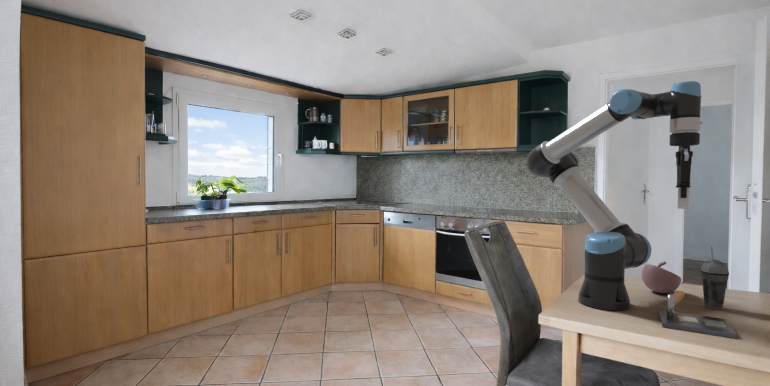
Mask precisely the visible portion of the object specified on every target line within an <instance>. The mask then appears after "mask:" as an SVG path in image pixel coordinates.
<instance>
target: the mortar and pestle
mask: <svg viewBox="0 0 770 386" xmlns="http://www.w3.org/2000/svg"><path fill="white" fill-rule="evenodd" d="M666 264H667V261H662V262H659V263H658V264H657V265H653V264H651V263H650V264H649V263H647V264H646V263H645V265H644V266H643V268H642V270H641V280H642V282H643V284H644V285H645V286H646V288H648V289H649V290H651V291H652V292H655V293H658V294H671V293H672V292H675V291H677V289H678V288H679V287H680V285H681V282H682V277H681V276H679V275H677V274H675V273H673V272H671V271H669V270H667V269H665V268H664V267H662V266H666Z"/></svg>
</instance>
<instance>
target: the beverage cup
mask: <svg viewBox="0 0 770 386" xmlns="http://www.w3.org/2000/svg"><path fill="white" fill-rule="evenodd" d="M709 249H710V257H711V259H709V260H706V261H704V263H703V264H702V265H701V268H700V271H699V272H700V275H701V278H702V293H703V304H704V308H706V309H709V310H714V311H722V310H723V308H724V303H725V297H726V291H727V290H726V289H727V284H728V283H727V282H728V279H729V276H730V271H729V268H728V267H727V265H726V264H725V263H724V262H723V261H721V260H717V259H714V253H713V246H712V245H710V246H709Z"/></svg>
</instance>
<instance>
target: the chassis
mask: <svg viewBox="0 0 770 386" xmlns="http://www.w3.org/2000/svg"><path fill="white" fill-rule="evenodd" d="M666 294H667V295H666V296H667V300H666V303H667V305H666V308H667V309H666V310H665V309H663V310H662V309H657V311H658V316H659V321H660V324H661V327H662V328H667V329H674V330H680V331H681V330H682V331H687V332H691V333H692V332H693V333H699V334H706V335H712V336H713V335H714V336H717V337H718V336H719V337H725V338H731V339H737V335H738V334H737V332H736V331H735V329H733V327H732V326H731V324H730V323H729V322H728V320H727V319H726V318H723V317H722V318H721V317H716V316H715V317H714V316H706V315H700V314H692V313H686V312H678V311H675V310H676V309H675V307H676V305H675V295H673V294H674V293H672V294H671V293H666Z"/></svg>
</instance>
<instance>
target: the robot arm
mask: <svg viewBox="0 0 770 386" xmlns="http://www.w3.org/2000/svg"><path fill="white" fill-rule="evenodd" d="M669 90H670V91H665V92H661V93H654V94H651V93H647V92H643V91H637V90H636V89H632V88H631V89H629V88H622V89H618V90H617V91H615V92H614V93H613V94H612V96H611V97H610V98H609V102H607V103H605V104H604V105H603V106H601V107H599V108H598V109H596V110H595V111H593V112H592V113H590V114H588V115H587V116H586V117H584V118H583V119H581V120H579V121H578V122H577V123H575V124H573V125H571V126H570V127H569V128H567V129H566V130H564V131H563V132H561V133H560V134H559V135H557V136H555V137H554V138H553V139H550V140H549V141H547V140H546V141H545V140H544V141H543V142H542V143H540V144H538V145H537V146H535V147H534V148H532V150H531V151H530V152H529V153H528V154H527V158H526V166H527V169H528V171H529V172H530V173H531V174H532V175H534V176H535V177H539V178H548V179H549V180H550V182H551V183H552V184H553V186H555V187H558V188H559V187H560V188H561V189H562V191H563V192H564V193H565V194H566V196H567V197H568V199H569V200H570V201H571V202H572V203H573V205H574V206H575V207H576V209H577V210H578V212H579V213H580V214H581V215H582V216H583V218H584V219H585V220H586V221H587V223H588V224H589V226H591V228H592V229H593V230H594V232H592V233H590V234H587V236H586V237H585V242H584V279H583V281H582V284H581V287H580V290H579V291H578V297H577V298H578V302H579V303H580V304H582V305H584V306H587V307H589V308H594V309H599V310H604V311H605V310H606V311H626V310H629V309H630V308H631V298H630V296H629V294H628V290H627V287H626V284H625V270H626V269H632V268H633V269H634V268H639V267H640V266H642V265H644V264H646V263H647V262H648V261H649V260H650V258H651V254H652V245H651V243H650V241H649V239H648V238H647V237H646V236H644V235H643V234H640V233H638V232H635V231H634V230H633V229H632V228H631V226H630V225H629V224H628V223H625V222H621V221H619V219H618V218H617V217H616V215H615V214H614V213H613V212H612V211H611V210H610V209H609V207H608V206H607V205H606V203H605V202H604V201H603V200H602V199H601V197H600V196H599V195H598V194H597V193H596V191H595V190H594V189H593V188H592V187H591V186H590V184H589V183H588V182H587V180H586V179H585V178H584V177H583V176H582V174H581V171H582V169H581V167H580V166H579V163H580V161H579V158H578V156H577V155H576V154H575V153H574V152H575V150H577V149H579V148H580V147H582V146H583V145H585V144H587V143H588V142H590V141H592V140H594V139H595V138H597V137H599V136H600V135H601V134H604V133H605V132H607V131H608V130H610V129H612V128H613V127H615V126H616V125H619V124H621V123H622V122H624V121H625V120H627V119H628V118H631V119H632V120H646V119H652V118H653V119H654V118H660V117H668V116H669V117H670V118H669V133H670V135H669V146H670V147H678V151H675V159H676V162H675V165H676V185H675V188H677V193H676V196H677V197H676V198H677V199H676V209H678V210H679V209H683V210H687V209H689V195H690V191H689V189H690V188H691V187H692V186H691V173H692V171H691V170H692V163H693V162H692V160H693V157H694V155H693V154H694V152H693V150H691V147H692V146H693V147H694V146H698V145H700V143H701V142H700V141H701V137H700V135H701V134H700V132H699V131H700V129H701V125H702V124H703V121H702V120H701V109H702V108H701V106H702V105H701V104H702V87H701V83H700V82H698V81H695V80H686V81H680V82H677V83H673V84H672V85H671V87H670V89H669Z"/></svg>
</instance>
